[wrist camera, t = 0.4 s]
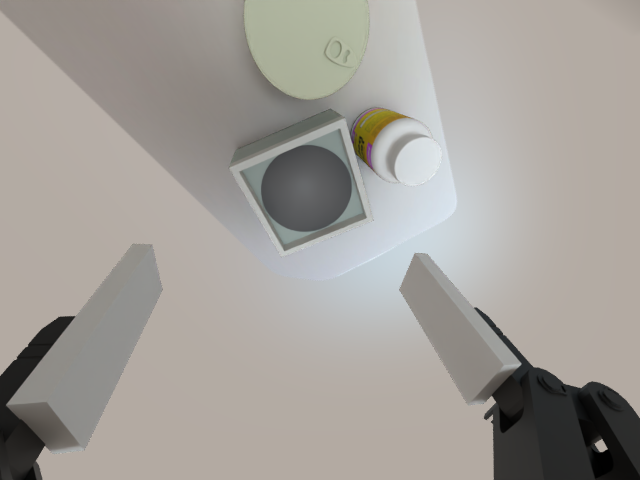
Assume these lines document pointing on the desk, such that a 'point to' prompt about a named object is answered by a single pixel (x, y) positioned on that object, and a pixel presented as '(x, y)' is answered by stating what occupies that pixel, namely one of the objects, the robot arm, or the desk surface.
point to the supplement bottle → (396, 147)
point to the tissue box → (304, 182)
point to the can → (307, 43)
